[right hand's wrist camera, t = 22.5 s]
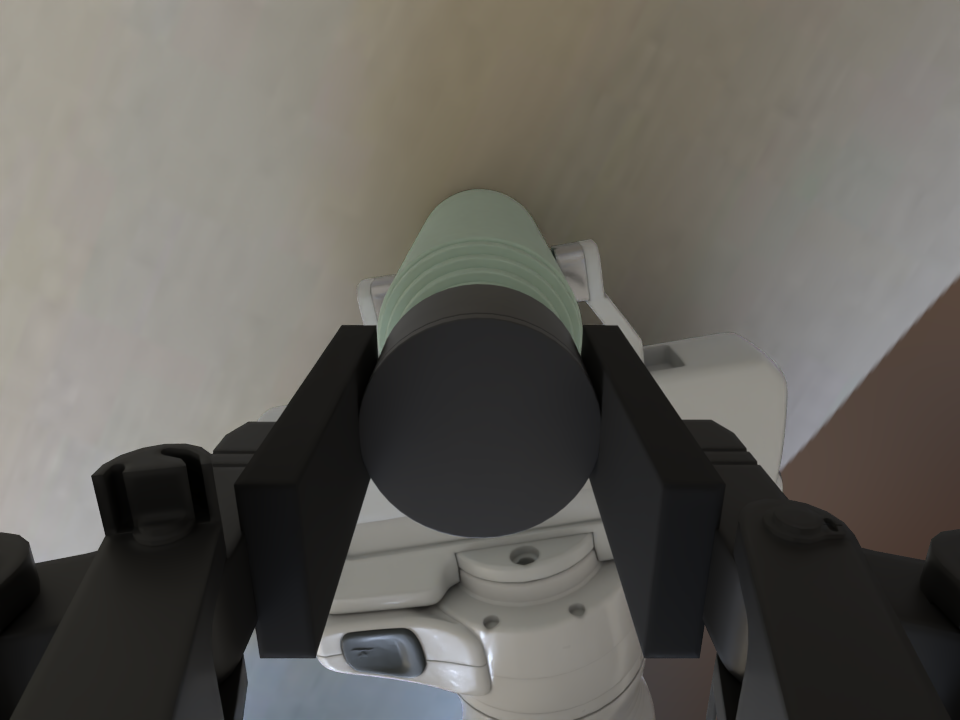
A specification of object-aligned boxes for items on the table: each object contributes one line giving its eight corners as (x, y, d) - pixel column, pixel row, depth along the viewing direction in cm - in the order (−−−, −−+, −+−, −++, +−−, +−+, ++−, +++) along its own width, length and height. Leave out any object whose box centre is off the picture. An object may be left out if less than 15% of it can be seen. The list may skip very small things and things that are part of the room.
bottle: (448, 167, 27) (402, 232, 11) (562, 221, 28) (675, 355, 12) (399, 281, 29) (299, 481, 13) (508, 330, 30) (543, 574, 14)
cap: (622, 396, 14) (651, 451, 12) (466, 506, 15) (463, 577, 13) (495, 239, 13) (499, 265, 11) (334, 369, 14) (305, 420, 12)
